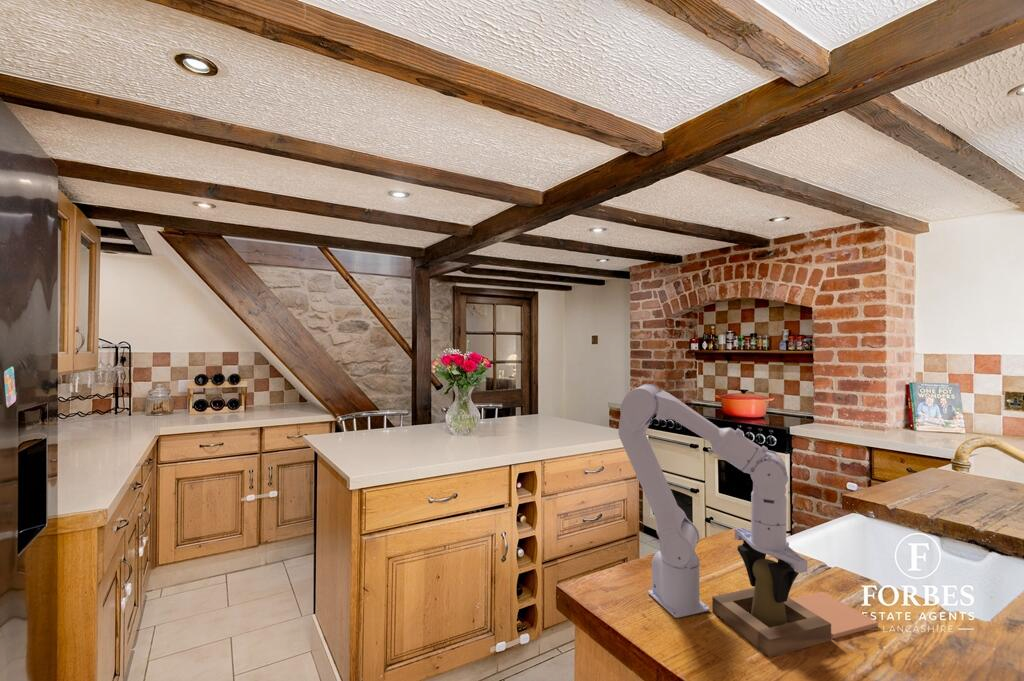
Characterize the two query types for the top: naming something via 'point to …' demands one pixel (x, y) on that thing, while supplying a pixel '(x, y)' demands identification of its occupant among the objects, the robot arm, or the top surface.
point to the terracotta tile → (836, 614)
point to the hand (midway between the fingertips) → (768, 592)
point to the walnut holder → (774, 640)
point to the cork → (766, 596)
